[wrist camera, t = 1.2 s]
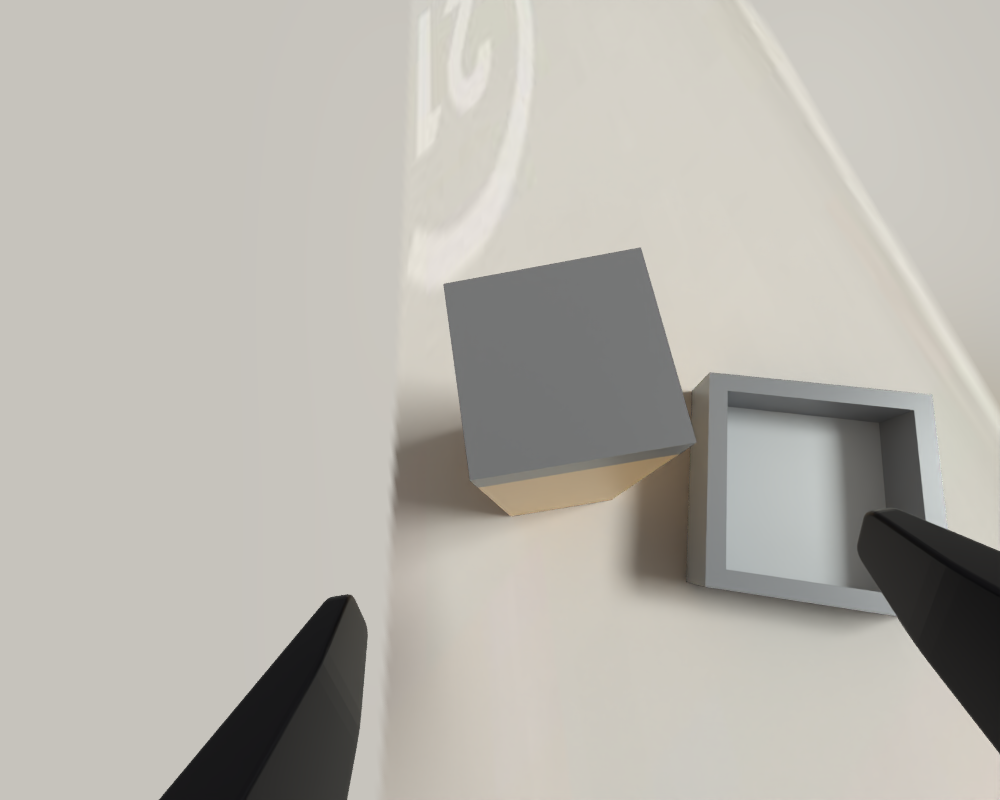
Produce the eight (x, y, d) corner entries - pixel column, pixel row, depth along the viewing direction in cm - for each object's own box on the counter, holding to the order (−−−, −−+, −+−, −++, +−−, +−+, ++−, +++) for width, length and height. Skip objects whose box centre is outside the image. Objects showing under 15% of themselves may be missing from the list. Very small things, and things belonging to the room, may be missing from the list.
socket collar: (907, 615, 18) (959, 625, 16) (686, 581, 19) (705, 586, 17) (889, 411, 21) (932, 394, 18) (692, 390, 22) (709, 372, 19)
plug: (611, 499, 20) (696, 442, 9) (510, 516, 21) (470, 480, 9) (589, 403, 22) (640, 247, 10) (495, 419, 22) (443, 283, 11)
